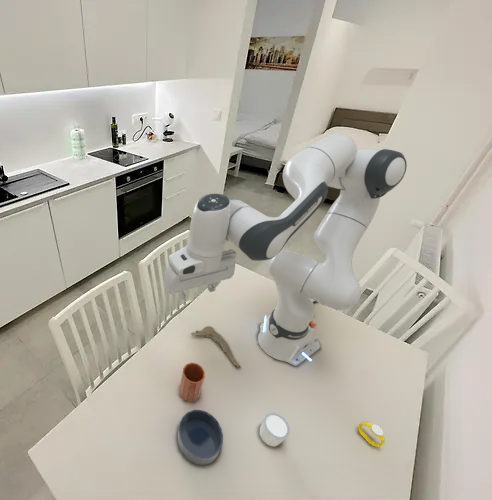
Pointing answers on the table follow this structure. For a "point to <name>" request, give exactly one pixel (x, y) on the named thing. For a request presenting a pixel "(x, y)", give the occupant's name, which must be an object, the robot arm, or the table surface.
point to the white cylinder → (274, 429)
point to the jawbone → (217, 338)
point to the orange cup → (191, 382)
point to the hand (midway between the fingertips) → (196, 294)
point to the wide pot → (200, 437)
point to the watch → (374, 429)
